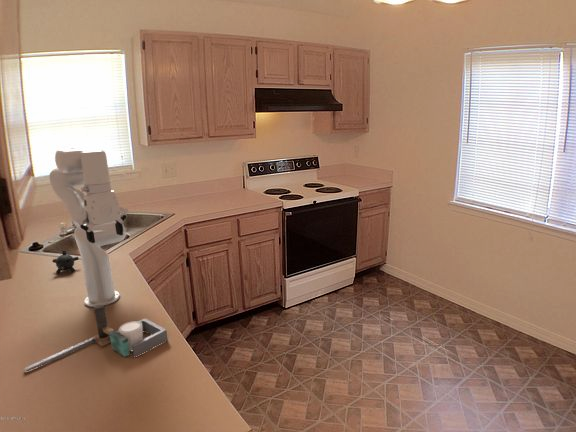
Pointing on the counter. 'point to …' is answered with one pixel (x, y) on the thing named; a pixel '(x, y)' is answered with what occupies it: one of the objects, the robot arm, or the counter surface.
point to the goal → (148, 343)
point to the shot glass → (132, 332)
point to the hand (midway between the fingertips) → (106, 238)
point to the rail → (60, 354)
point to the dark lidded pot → (65, 262)
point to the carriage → (109, 333)
